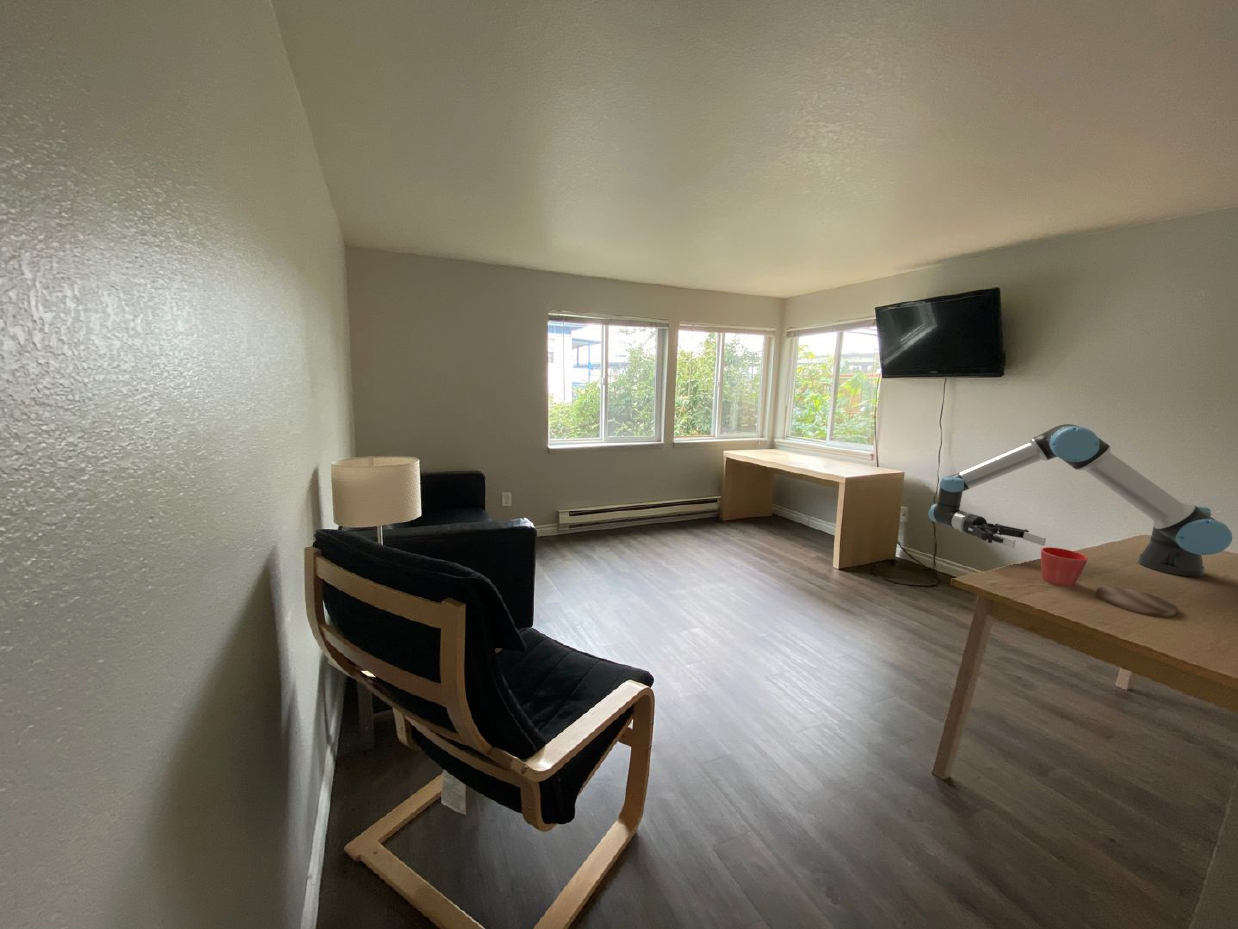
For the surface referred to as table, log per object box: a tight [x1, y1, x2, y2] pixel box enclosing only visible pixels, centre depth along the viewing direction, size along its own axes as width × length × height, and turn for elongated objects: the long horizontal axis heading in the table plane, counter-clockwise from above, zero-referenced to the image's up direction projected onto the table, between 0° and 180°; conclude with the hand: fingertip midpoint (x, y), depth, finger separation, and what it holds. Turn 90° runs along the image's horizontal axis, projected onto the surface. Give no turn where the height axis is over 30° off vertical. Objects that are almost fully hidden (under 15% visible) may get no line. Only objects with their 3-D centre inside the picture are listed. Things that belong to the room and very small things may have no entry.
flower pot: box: [1040, 546, 1088, 587], centre depth 152 cm, size 11×11×10 cm
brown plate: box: [1095, 585, 1178, 618], centre depth 139 cm, size 16×16×2 cm
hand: (1029, 543), depth 160 cm, fingers open, 13 cm apart
